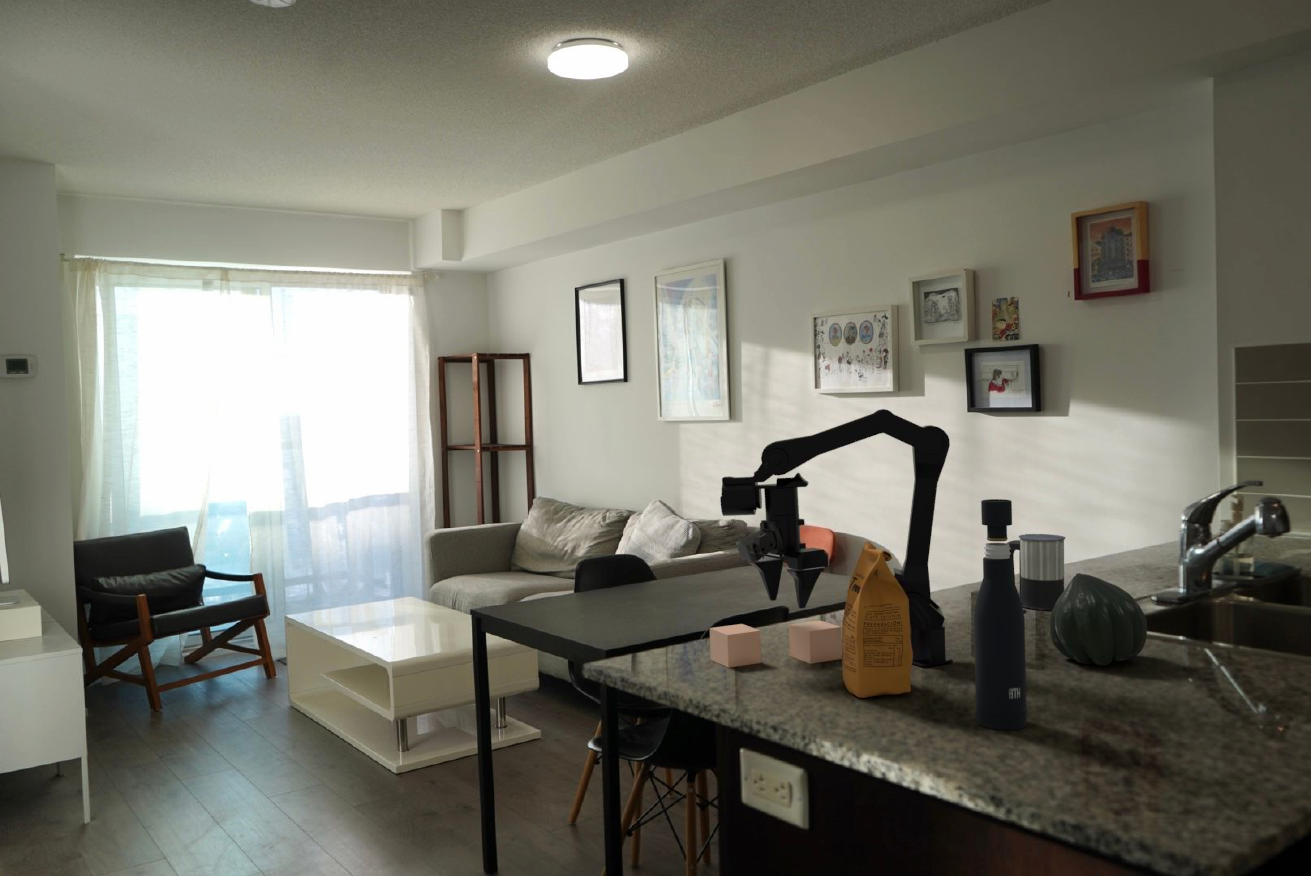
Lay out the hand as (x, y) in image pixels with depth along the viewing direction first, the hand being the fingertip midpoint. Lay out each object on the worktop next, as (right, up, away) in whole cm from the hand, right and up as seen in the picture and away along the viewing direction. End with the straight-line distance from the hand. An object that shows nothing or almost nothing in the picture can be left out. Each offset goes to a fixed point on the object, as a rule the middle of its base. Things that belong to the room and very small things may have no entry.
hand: (787, 604), depth 173 cm
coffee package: (+11, -10, -20) cm, 25 cm away
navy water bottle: (+24, -10, -38) cm, 46 cm away
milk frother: (+55, -7, +36) cm, 66 cm away
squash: (+50, -8, -7) cm, 52 cm away
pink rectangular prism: (+5, -9, +1) cm, 11 cm away
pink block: (-9, -10, 0) cm, 13 cm away
